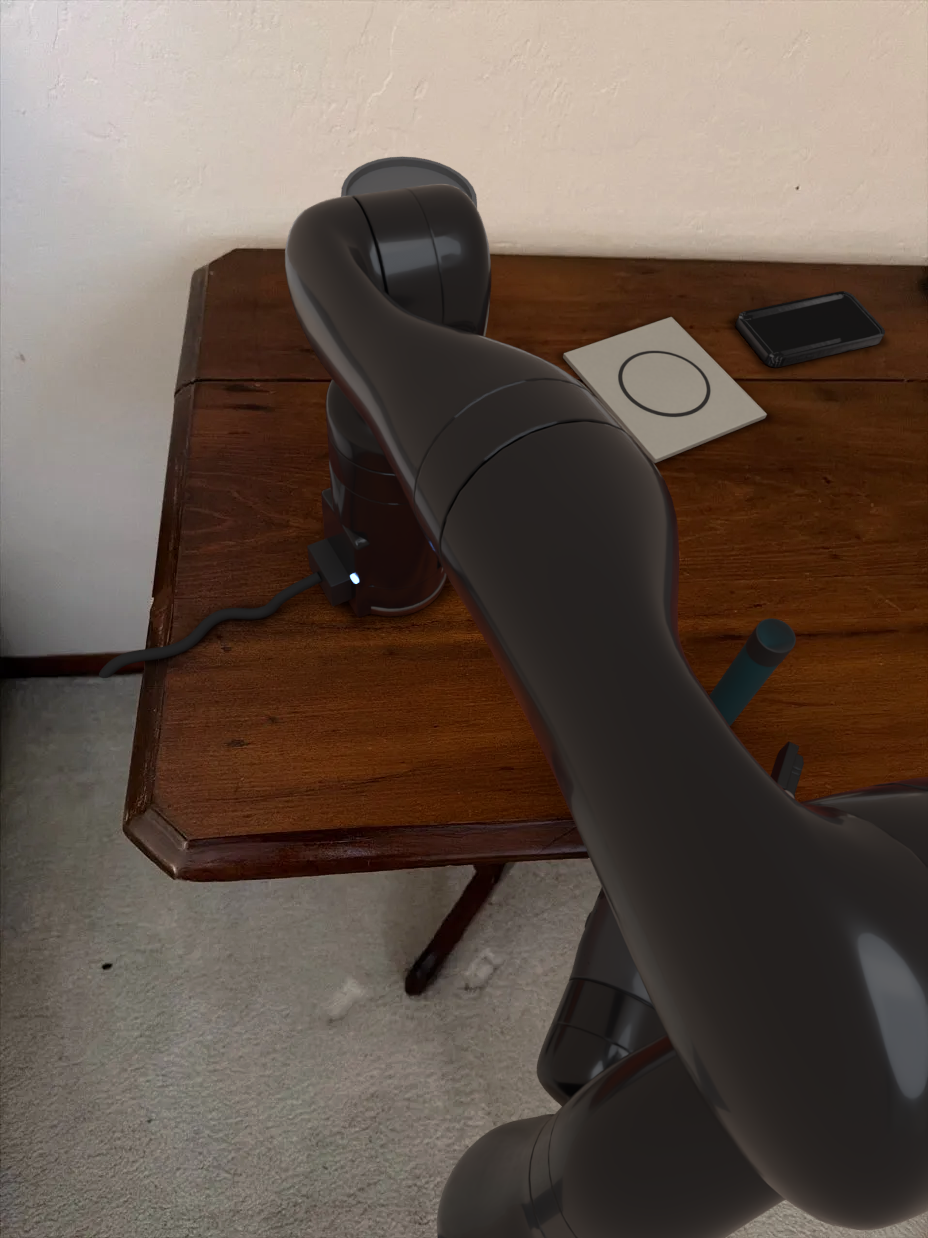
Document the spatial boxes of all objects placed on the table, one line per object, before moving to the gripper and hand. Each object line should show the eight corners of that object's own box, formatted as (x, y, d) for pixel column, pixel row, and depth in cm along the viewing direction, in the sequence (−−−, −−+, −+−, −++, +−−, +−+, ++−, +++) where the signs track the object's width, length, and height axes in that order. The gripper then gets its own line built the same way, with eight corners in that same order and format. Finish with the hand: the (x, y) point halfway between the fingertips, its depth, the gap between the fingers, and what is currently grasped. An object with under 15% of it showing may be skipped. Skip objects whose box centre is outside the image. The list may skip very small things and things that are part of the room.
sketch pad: (654, 463, 83) (656, 458, 83) (562, 357, 90) (563, 352, 90) (765, 418, 88) (767, 413, 87) (669, 320, 95) (671, 315, 94)
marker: (710, 741, 68) (774, 658, 57) (688, 713, 69) (747, 627, 58) (736, 727, 69) (804, 642, 58) (715, 699, 70) (778, 612, 59)
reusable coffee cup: (317, 323, 90) (308, 183, 77) (411, 277, 95) (417, 139, 82) (397, 393, 86) (400, 257, 73) (490, 340, 91) (509, 205, 78)
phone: (734, 313, 95) (848, 289, 99) (731, 321, 96) (843, 297, 99) (773, 361, 91) (890, 334, 95) (769, 370, 92) (885, 343, 96)
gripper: (790, 983, 48) (854, 743, 56) (553, 862, 51) (648, 649, 59) (742, 1005, 55) (806, 786, 63) (534, 896, 57) (621, 700, 65)
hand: (729, 720), depth 61 cm, fingers open, 8 cm apart
